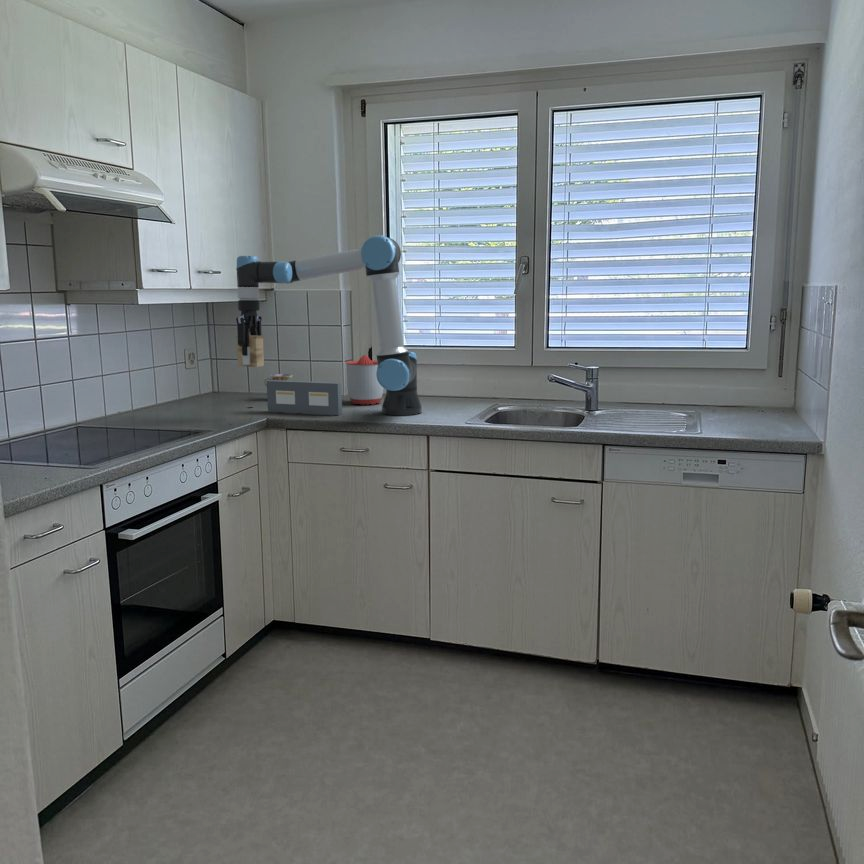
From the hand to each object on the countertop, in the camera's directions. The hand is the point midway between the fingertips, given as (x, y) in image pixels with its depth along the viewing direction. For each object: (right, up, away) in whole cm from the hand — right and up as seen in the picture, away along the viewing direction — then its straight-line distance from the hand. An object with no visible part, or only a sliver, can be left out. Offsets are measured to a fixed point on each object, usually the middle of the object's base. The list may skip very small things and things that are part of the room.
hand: (250, 363), depth 286 cm
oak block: (0, -1, 0) cm, 1 cm away
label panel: (+18, -18, +10) cm, 27 cm away
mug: (+2, -12, +45) cm, 46 cm away
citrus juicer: (+40, -14, +34) cm, 54 cm away
